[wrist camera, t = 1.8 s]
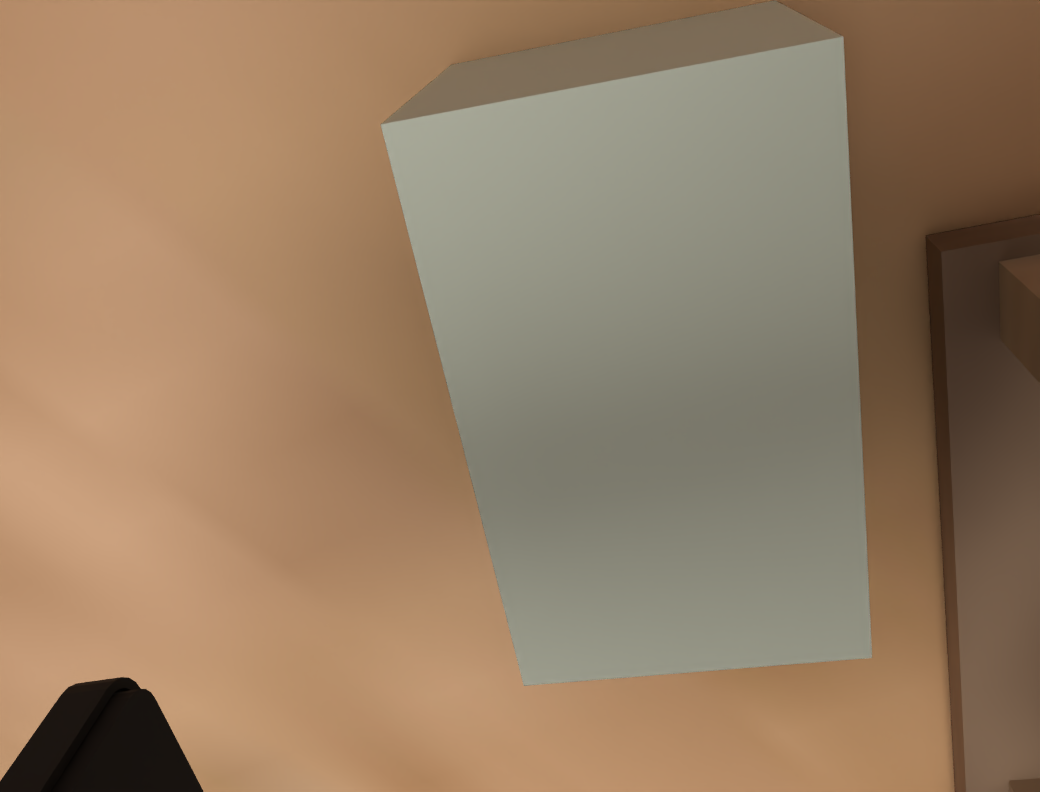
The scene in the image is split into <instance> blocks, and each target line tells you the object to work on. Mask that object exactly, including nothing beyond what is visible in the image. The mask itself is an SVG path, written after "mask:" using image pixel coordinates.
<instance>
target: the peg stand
mask: <svg viewBox="0 0 1040 792" xmlns="http://www.w3.org/2000/svg"><path fill="white" fill-rule="evenodd" d="M926 249H927V268H928V287H929V305H930V324H931V343H932V362H933V381H934V400H935V419H936V438H937V457H938V476H939V495H940V514H941V533H942V551H943V570H944V589H945V608H946V627H947V646H948V665H949V684H950V703H951V722H952V741H953V760H954V778H955V792H1040V214H1039V215H1034V216H1028V217H1023V218H1018V219H1012V220H1007V221H1002V222H996V223H991V224H986V225H980V226H975V227H970V228H964V229H959V230H954V231H948V232H943V233H937V234H932V235H927V236H926Z"/></svg>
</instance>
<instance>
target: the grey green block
mask: <svg viewBox="0 0 1040 792" xmlns="http://www.w3.org/2000/svg"><path fill="white" fill-rule="evenodd" d="M381 128H382V132H383V136H384V140H385V144H386V147H387V151H388V155H389V159H390V163H391V167H392V171H393V175H394V179H395V183H396V187H397V191H398V194H399V198H400V202H401V206H402V210H403V214H404V218H405V222H406V226H407V230H408V234H409V238H410V241H411V245H412V249H413V253H414V257H415V261H416V265H417V269H418V273H419V277H420V281H421V285H422V289H423V292H424V296H425V300H426V304H427V308H428V312H429V316H430V320H431V324H432V328H433V332H434V336H435V339H436V343H437V347H438V351H439V355H440V359H441V363H442V367H443V371H444V375H445V379H446V383H447V386H448V390H449V394H450V398H451V402H452V406H453V410H454V414H455V418H456V422H457V426H458V430H459V434H460V437H461V441H462V445H463V449H464V453H465V457H466V461H467V465H468V469H469V473H470V477H471V481H472V484H473V488H474V492H475V496H476V500H477V504H478V508H479V512H480V516H481V520H482V524H483V528H484V531H485V535H486V539H487V543H488V547H489V551H490V555H491V559H492V563H493V567H494V571H495V575H496V578H497V582H498V586H499V590H500V594H501V598H502V602H503V606H504V610H505V614H506V618H507V622H508V626H509V629H510V633H511V637H512V641H513V645H514V649H515V653H516V657H517V661H518V665H519V669H520V673H521V676H522V680H523V684H524V686H527V685H539V684H552V683H564V682H577V681H589V680H602V679H614V678H627V677H639V676H652V675H664V674H677V673H689V672H702V671H714V670H727V669H739V668H752V667H764V666H776V665H789V664H801V663H814V662H826V661H839V660H851V659H864V658H872V646H871V624H870V602H869V581H868V559H867V537H866V516H865V494H864V472H863V451H862V429H861V407H860V386H859V364H858V342H857V321H856V299H855V277H854V256H853V234H852V212H851V191H850V169H849V147H848V126H847V104H846V82H845V61H844V39H843V36H841V35H840V34H838V33H836V32H834V31H832V30H830V29H828V28H826V27H825V26H823V25H821V24H819V23H817V22H815V21H813V20H811V19H809V18H808V17H806V16H804V15H802V14H800V13H798V12H796V11H794V10H793V9H791V8H789V7H787V6H785V5H783V4H781V3H779V2H777V1H776V0H774V1H769V2H764V3H759V4H754V5H749V6H744V7H739V8H734V9H729V10H724V11H719V12H714V13H709V14H704V15H699V16H694V17H689V18H684V19H679V20H674V21H669V22H664V23H659V24H654V25H649V26H644V27H639V28H634V29H629V30H623V31H618V32H613V33H608V34H603V35H598V36H593V37H588V38H583V39H578V40H573V41H568V42H563V43H558V44H553V45H548V46H543V47H538V48H533V49H528V50H523V51H518V52H513V53H508V54H503V55H498V56H493V57H488V58H483V59H478V60H473V61H468V62H463V63H458V64H453V65H450V66H449V67H448V68H447V69H446V70H444V71H443V72H442V73H441V74H440V75H438V76H437V77H436V78H435V79H434V80H433V81H431V82H430V83H429V84H428V85H427V86H425V87H424V88H423V89H422V90H421V91H420V92H418V93H417V94H416V95H415V96H414V97H413V98H411V99H410V100H409V101H408V102H407V103H405V104H404V105H403V106H402V107H401V108H400V109H398V110H397V111H396V112H395V113H394V114H392V115H391V116H390V117H389V118H388V119H387V120H385V121H384V122H383V123H382V124H381Z"/></svg>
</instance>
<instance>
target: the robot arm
mask: <svg viewBox="0 0 1040 792" xmlns="http://www.w3.org/2000/svg"><path fill="white" fill-rule="evenodd" d="M0 792H203V790H202V788H201V786H200V784H199V782H198V780H197V778H196V776H195V774H194V772H193V770H192V769H191V767H190V765H189V763H188V761H187V759H186V757H185V755H184V753H183V751H182V749H181V747H180V745H179V743H178V742H177V740H176V738H175V736H174V734H173V732H172V730H171V728H170V726H169V724H168V722H167V720H166V718H165V716H164V715H163V713H162V711H161V709H160V707H159V705H158V703H157V701H156V699H155V698H154V696H153V695H152V693H151V692H149V691H148V690H146V689H140V687H139V686H138V685H137V683H136V682H135V681H133V680H132V679H130V678H123V677H121V678H113V679H106V680H99V681H92V682H85V683H78V684H75V685H72V686H70V687H68V688H67V689H66V690H65V691H64V692H63V694H62V695H61V696H60V697H59V699H58V700H57V702H56V703H55V704H54V706H53V707H52V709H51V710H50V711H49V713H48V714H47V716H46V717H45V719H44V720H43V721H42V723H41V724H40V726H39V727H38V728H37V730H36V731H35V733H34V734H33V736H32V737H31V738H30V740H29V741H28V743H27V744H26V746H25V747H24V748H23V750H22V751H21V753H20V754H19V755H18V757H17V758H16V760H15V761H14V763H13V764H12V765H11V767H10V768H9V770H8V771H7V772H6V774H5V775H4V777H3V778H2V780H1V781H0Z"/></svg>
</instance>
